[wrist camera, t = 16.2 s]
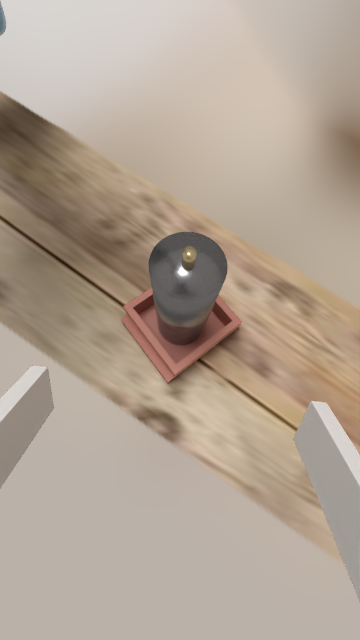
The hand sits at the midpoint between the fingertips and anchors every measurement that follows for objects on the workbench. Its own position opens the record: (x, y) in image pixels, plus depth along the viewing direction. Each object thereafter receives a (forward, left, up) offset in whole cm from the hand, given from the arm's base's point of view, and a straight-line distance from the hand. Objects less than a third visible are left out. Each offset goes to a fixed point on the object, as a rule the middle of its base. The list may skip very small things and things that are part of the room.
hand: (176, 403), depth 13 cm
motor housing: (-7, +7, -17) cm, 20 cm away
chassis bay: (-7, +7, -18) cm, 21 cm away
